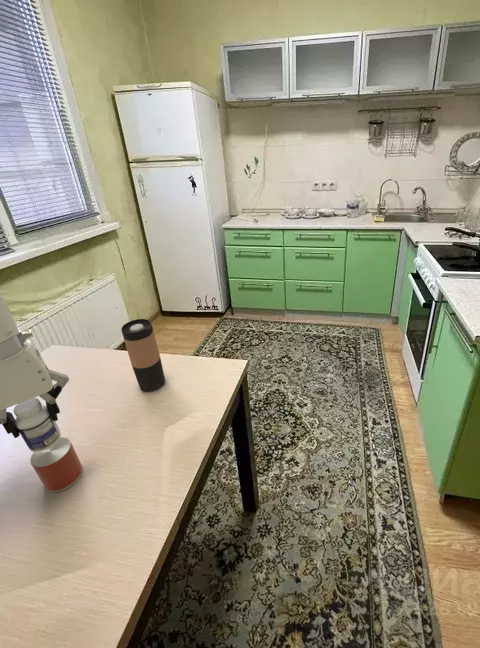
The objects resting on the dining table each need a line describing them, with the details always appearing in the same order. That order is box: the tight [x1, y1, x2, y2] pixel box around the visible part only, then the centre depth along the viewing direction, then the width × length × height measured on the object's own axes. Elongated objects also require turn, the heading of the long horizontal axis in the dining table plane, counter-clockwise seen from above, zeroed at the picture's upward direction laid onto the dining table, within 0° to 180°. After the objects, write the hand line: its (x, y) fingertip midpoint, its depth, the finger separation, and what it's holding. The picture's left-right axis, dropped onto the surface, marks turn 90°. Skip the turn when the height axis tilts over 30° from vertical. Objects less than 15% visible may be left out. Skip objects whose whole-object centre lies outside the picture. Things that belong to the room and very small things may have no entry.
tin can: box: [30, 436, 84, 494], centre depth 68 cm, size 7×7×8 cm
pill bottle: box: [12, 397, 62, 453], centre depth 62 cm, size 5×5×10 cm
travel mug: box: [120, 318, 166, 393], centre depth 91 cm, size 8×8×20 cm
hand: (36, 423), depth 62 cm, fingers closed on pill bottle, 5 cm apart
